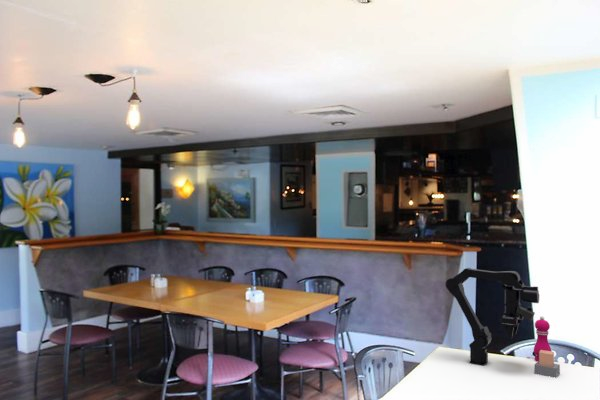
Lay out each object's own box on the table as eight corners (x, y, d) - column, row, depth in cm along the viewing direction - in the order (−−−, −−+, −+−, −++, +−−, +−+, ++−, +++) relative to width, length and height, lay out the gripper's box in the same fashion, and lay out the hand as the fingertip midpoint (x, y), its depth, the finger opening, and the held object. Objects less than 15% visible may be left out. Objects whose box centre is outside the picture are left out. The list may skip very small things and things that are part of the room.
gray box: (534, 374, 193) (534, 364, 194) (538, 370, 199) (538, 360, 199) (556, 378, 188) (556, 368, 189) (559, 374, 194) (559, 364, 194)
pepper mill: (555, 363, 208) (554, 317, 209) (538, 363, 208) (537, 317, 209) (546, 359, 215) (546, 314, 216) (530, 358, 215) (530, 314, 216)
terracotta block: (539, 364, 193) (539, 352, 194) (540, 361, 198) (540, 349, 198) (553, 366, 191) (552, 354, 191) (553, 363, 195) (553, 351, 195)
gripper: (529, 305, 190) (529, 345, 189) (536, 300, 205) (536, 336, 204) (499, 302, 196) (500, 340, 195) (508, 297, 211) (509, 332, 210)
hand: (512, 337), depth 201 cm, fingers open, 9 cm apart
